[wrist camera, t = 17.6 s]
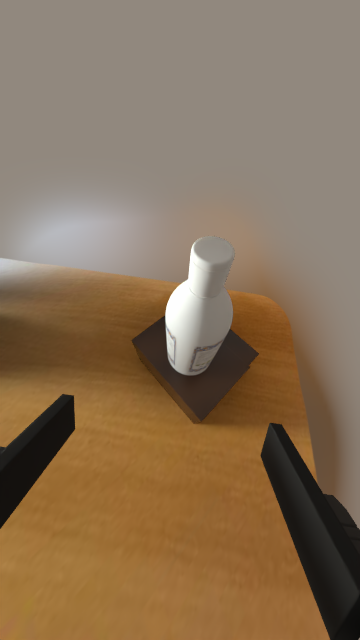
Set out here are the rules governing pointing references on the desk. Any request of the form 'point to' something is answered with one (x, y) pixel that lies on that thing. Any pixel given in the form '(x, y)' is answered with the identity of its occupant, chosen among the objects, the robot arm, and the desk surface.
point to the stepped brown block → (203, 388)
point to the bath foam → (200, 308)
